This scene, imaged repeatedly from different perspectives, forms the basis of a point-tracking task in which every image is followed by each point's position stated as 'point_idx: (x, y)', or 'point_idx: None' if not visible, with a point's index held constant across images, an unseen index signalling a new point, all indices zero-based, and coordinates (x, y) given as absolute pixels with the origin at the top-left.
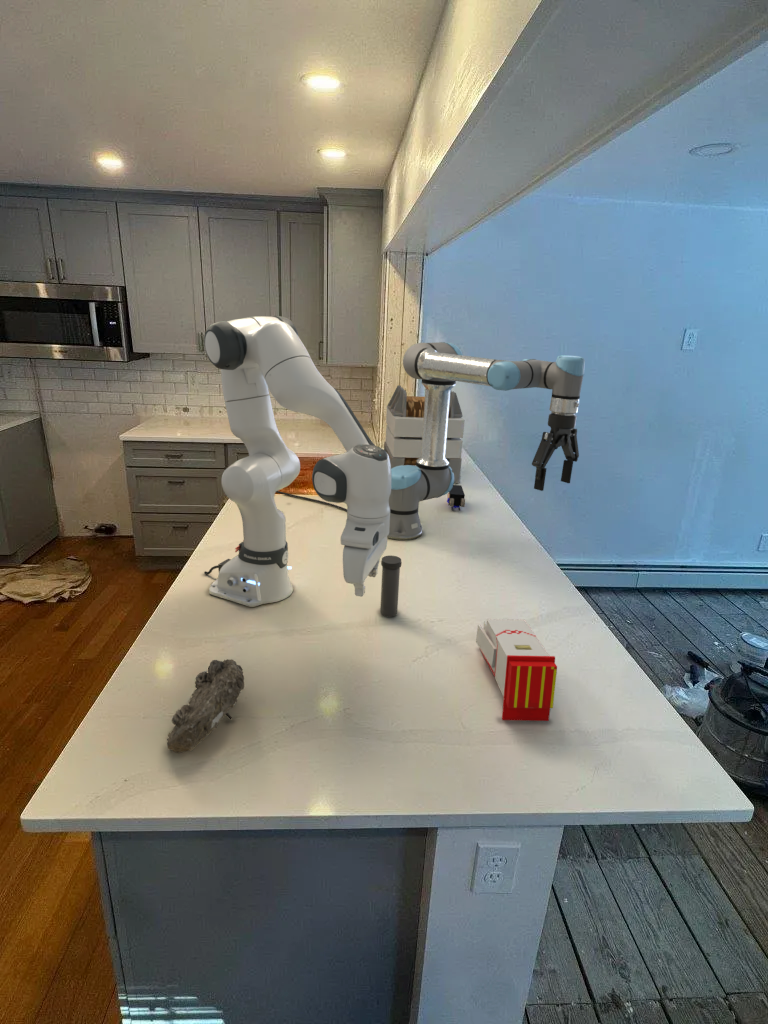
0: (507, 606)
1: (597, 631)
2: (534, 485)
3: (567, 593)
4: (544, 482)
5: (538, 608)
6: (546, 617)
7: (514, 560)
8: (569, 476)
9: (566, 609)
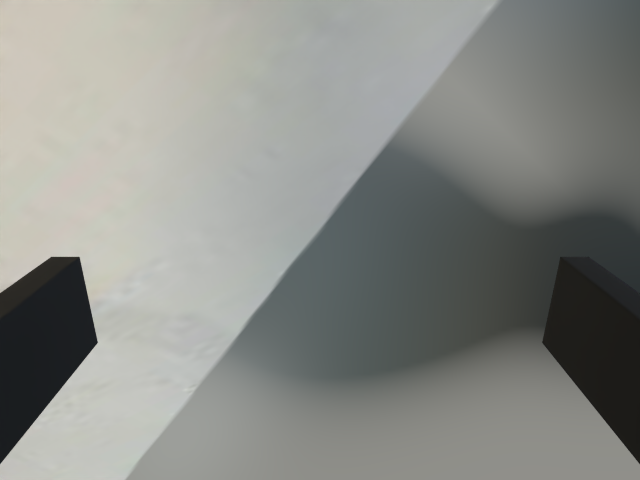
0: (45, 223)
1: (165, 411)
2: (30, 275)
3: (268, 278)
4: (49, 401)
5: (120, 279)
6: (104, 316)
7: (332, 10)
8: (583, 390)
9: (186, 323)
